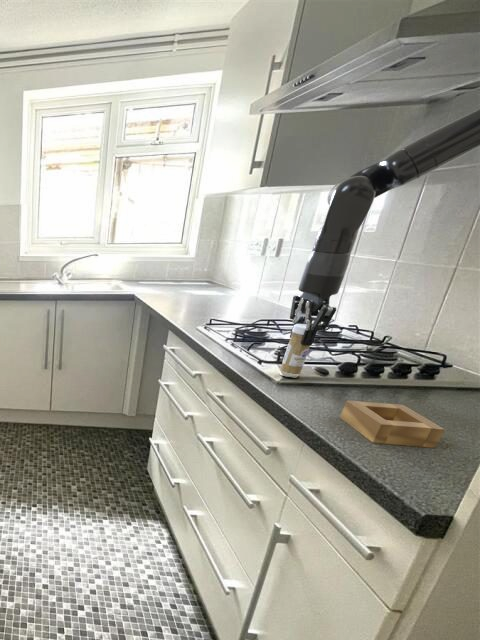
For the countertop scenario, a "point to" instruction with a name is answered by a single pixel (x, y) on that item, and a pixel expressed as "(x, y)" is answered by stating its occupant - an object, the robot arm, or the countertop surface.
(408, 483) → the countertop surface
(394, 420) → the holder
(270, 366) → the countertop surface
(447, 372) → the countertop surface
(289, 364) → the sprinkles bottle
